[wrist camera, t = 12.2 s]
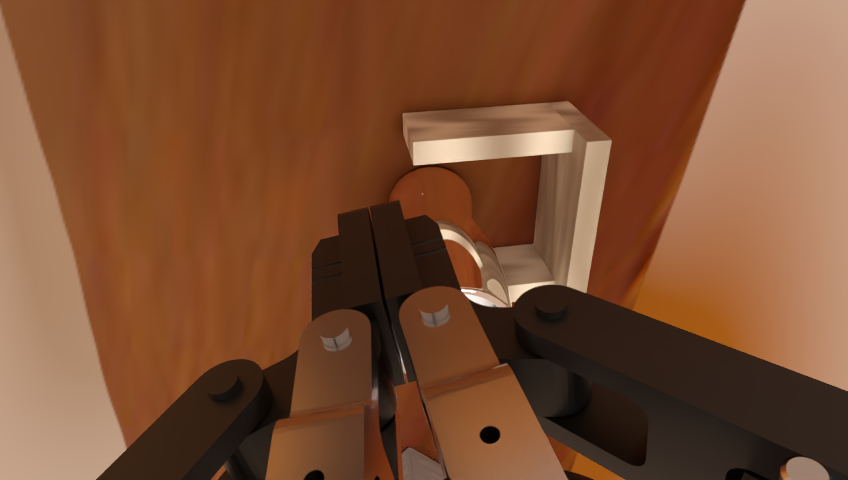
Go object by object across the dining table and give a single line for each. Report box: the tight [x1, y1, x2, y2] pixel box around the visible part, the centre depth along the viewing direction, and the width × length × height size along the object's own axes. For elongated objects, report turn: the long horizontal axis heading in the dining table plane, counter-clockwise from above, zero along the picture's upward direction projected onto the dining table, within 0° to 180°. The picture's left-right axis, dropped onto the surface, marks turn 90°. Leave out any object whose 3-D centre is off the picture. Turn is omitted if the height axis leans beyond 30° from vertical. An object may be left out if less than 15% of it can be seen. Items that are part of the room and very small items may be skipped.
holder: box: [402, 101, 612, 302], centre depth 39 cm, size 12×13×7 cm
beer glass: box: [389, 167, 512, 373], centre depth 36 cm, size 7×7×15 cm
